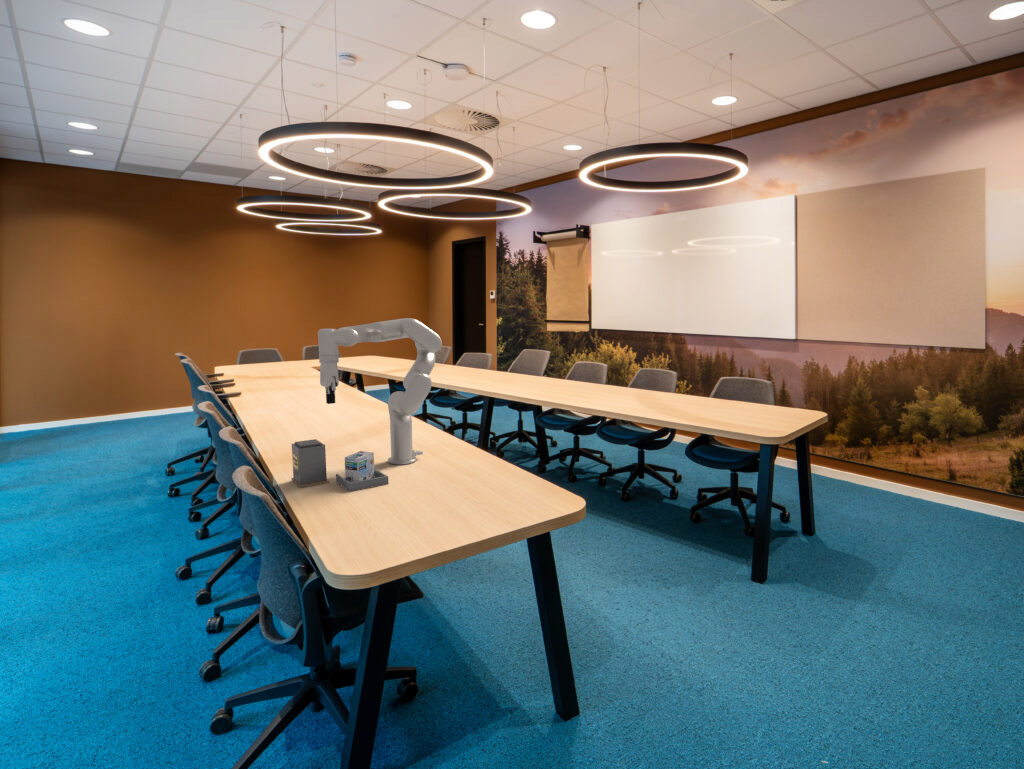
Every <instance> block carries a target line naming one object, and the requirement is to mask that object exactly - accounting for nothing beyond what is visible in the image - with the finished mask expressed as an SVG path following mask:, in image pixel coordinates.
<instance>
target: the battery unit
mask: <svg viewBox="0 0 1024 769" xmlns="http://www.w3.org/2000/svg"><path fill="white" fill-rule="evenodd" d="M326 455H327V454H326V444H324V443H323V442H321V441H319V440H317V439H316V438H314V439H306V440H300V441H294V443H291V458H292V476H293V477H290V478H291V481H292V482H293V483H294V485H296V486H297V487H298V488H299V489H302V488H308V486H309V487H314V486H318V485H324V483H325V484H329V483H330V480H329V479H328V477H327V474H328V473H327V459H326V458H327V457H326Z"/></svg>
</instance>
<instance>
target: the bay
mask: <svg viewBox="0 0 1024 769" xmlns="http://www.w3.org/2000/svg"><path fill="white" fill-rule="evenodd" d="M374 476H375V477H374V478H372V479H367V480H362V481H356V482H351V483H350V482H348V481H347V480H346V478H344V477H343V476H341V475H340V474H338V473H336V474H335V482H336V483H337V482H338V483H339V485H340V486H341V485H342V486H343V487H342V486H341V487H342V488H344V489H345V488H346V489H347V490H346V489H345V490H346V491H347V492H353V491H352V490H354V491H358V489H359V490H363V489H362V488H364V489H368V488H367V487H370V488H373V487H372V486H375V487H378V485H380V486H384V485H383V484H385V485H388V484H389V476H388V475H387V474H385V473H384V472H382V471H380V470H378V469H377V468H375V467H374ZM338 483H337V484H338Z"/></svg>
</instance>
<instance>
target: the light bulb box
mask: <svg viewBox="0 0 1024 769" xmlns="http://www.w3.org/2000/svg"><path fill="white" fill-rule="evenodd" d="M374 454H375V452H373V451H372V452H371V451H364V450H359V451H357V452H354V453H352V454H349V455H347V456H345V457H344V473H345V474H344V475H345V479H346V480H347V481H348V482H350V483H351V482H356V481H362V480H367V479H372V478H375V477H374V468H375V455H374Z"/></svg>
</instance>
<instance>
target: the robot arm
mask: <svg viewBox="0 0 1024 769" xmlns="http://www.w3.org/2000/svg"><path fill="white" fill-rule="evenodd" d="M317 337H318V339H317V340H318V360H319V361H318V362H319V364H320V366H319V384H320V386H321V387H324V388H325V398H326V399H325V400H326V401H325V402H326V404H327V405H330V404H331V405H332V404H335V403H336V390H337V388H336V387H338V386H339V384H340V381H339V369H338V363H339V362H340V360H339V346H341V347H353V346H355V345H356V344H361V343H381V342H389V341H394V340H401V339H407V338H408V339H410V340H412V341H413V342H414V344H415V348H416V352H417V354H416V355H417V356H416V359H415V360H414V363H413V364H412V366H411V367H410V369H409V370H408V372H407V373H406V375H405V376H404V378H403V381H402V386H403V387H404V389H405V391H401V390H399V391H398V390H397V391H394V392H392V393H391V394H390V396H389V398H388V400H387V409H388V413H389V414H388V415H389V421H390V422H389V424H390V425H389V429H390V431H389V433H390V457H388V458H387V463H388V464H391V465H409V464H413V463H415V462H416V461H417V456H420V455H423V454H424V452H423V450H422V449H420V450H414V449H413V420H412V415H413V416H414V414H416V412H418V410H419V409H421V408H420V407H421V406H422V404H423V403H424V401H425V400H426V398H427V396H428V395H429V393H430V392H431V388H432V384H433V383H432V379H431V377H430V374H431V373H432V370H433V369H434V367H435V365H436V353H438V352H439V351H440V350H441V348H442V346H443V341H442V339H441V337H440V336H439V334H437V333H436V332H435V331H433V329H430V328H429V327H428V326H427V325H425V324H424V323H422V322H421V321H419V320H418V319H415V318H414V317H413V318H410V317H407V318H406V317H405V318H404V317H403V318H398V319H390V320H383V321H376V322H370V323H365V324H359V325H358V324H357V325H351V326H344V327H339V328H338V329H336V328H321V329H318V331H317Z"/></svg>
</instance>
